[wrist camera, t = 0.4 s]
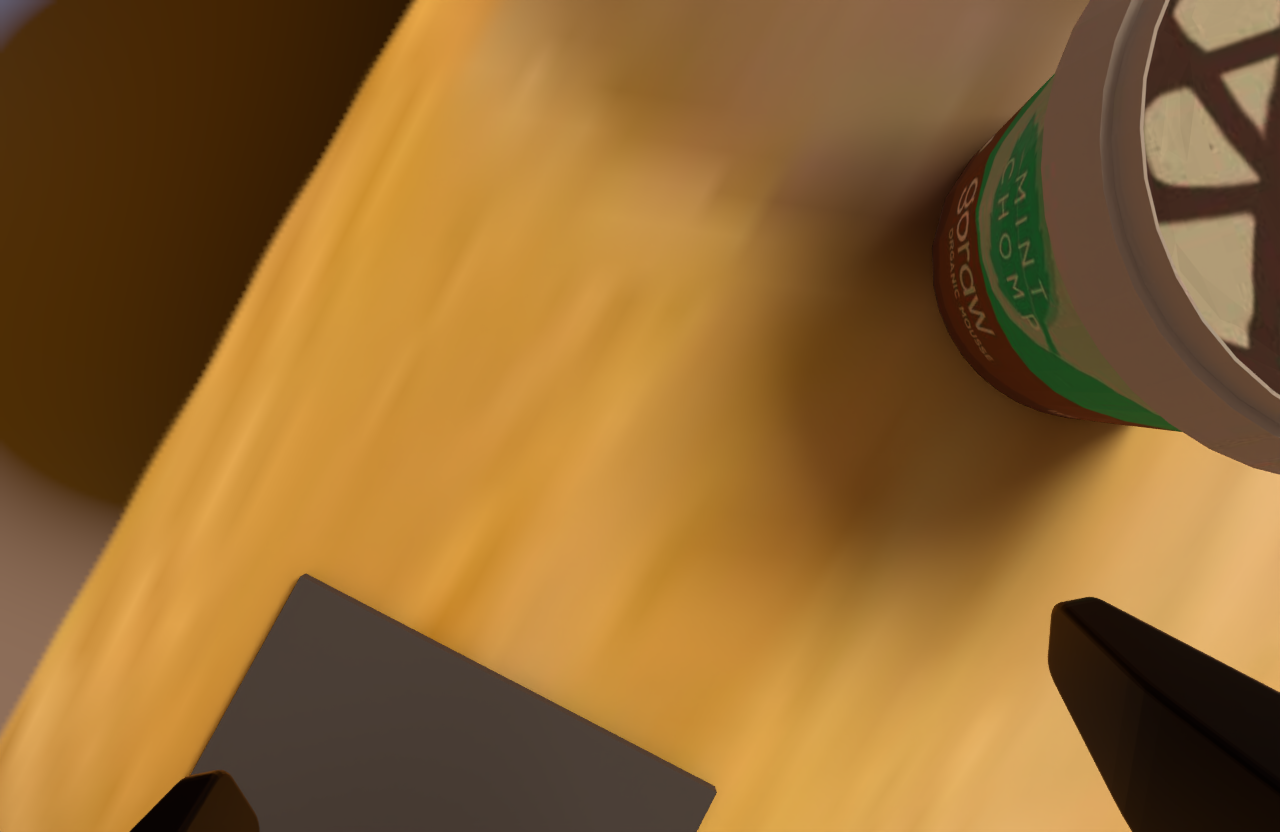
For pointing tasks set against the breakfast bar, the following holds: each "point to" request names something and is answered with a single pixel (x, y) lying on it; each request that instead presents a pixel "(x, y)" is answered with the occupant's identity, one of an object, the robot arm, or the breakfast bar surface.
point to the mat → (423, 739)
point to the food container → (1133, 229)
